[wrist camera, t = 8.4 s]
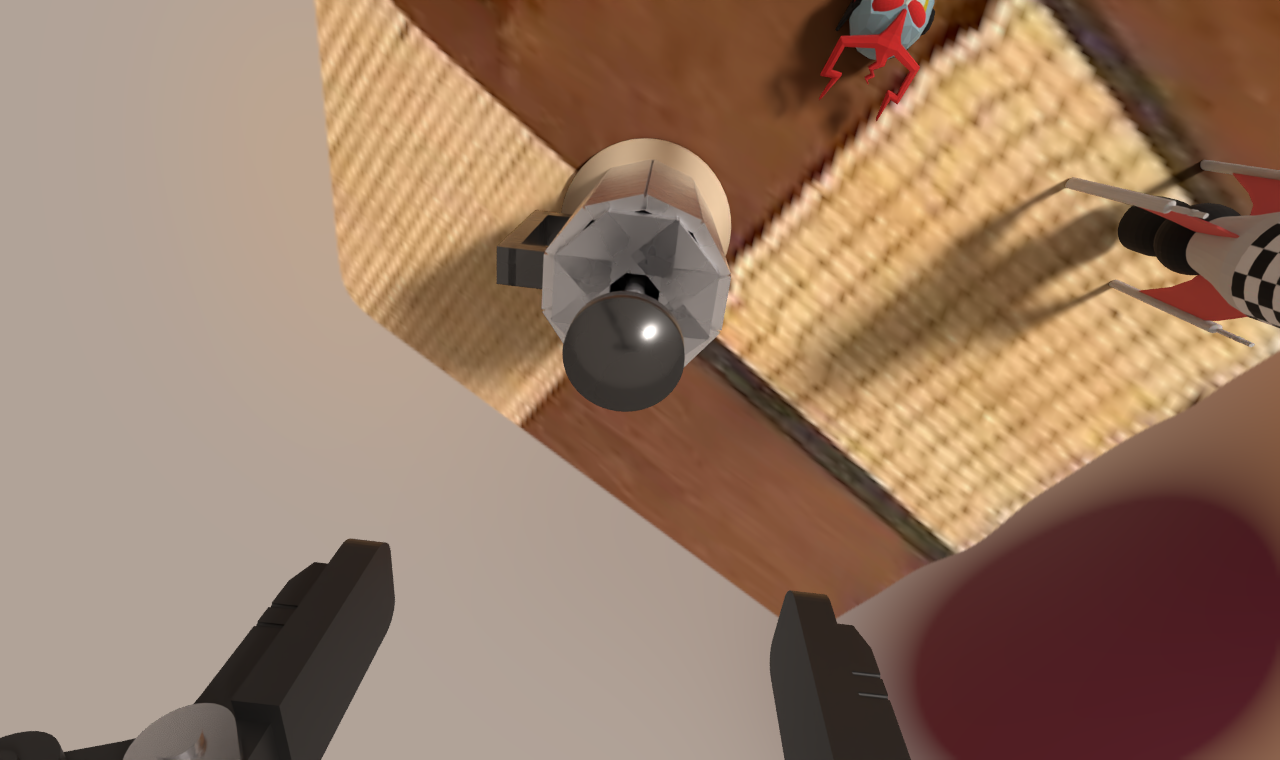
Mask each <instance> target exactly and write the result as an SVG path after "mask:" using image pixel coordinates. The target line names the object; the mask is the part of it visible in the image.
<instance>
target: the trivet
mask: <svg viewBox="0 0 1280 760" xmlns="http://www.w3.org/2000/svg"><path fill="white" fill-rule="evenodd" d="M650 159H652V161H654V159H655V160H657V161H659V162H661V163H663V164H665V165H667V166H669V167H671V168H673V169H675V170H678V171H680V172H682V173H684V174H686V175H688V176H690V177H692V179H694V181H695V183H696V185H697V187H698V189H699V191H700V193H701V195H702V197H703V198H704V200H705V202H706V204H707V206H708V208H709V210H710V212H711V214H712V216H713V219H714V223H715V226H716V229H717V232H718V235H719V238H720V241H721V245H722V248H723V251H724V254H725V256H726V253H727V250H728V246H729V242H730V234H731V216H730V210H729V205H728V201H727V198H726V195H725V193H724V190H723V188H722V186H721V184H720V182H719V180H718V179H717V177H716V176H715V174H714V173H713V171H712V170H711V169H710V168H709V167H708V165H707V164H706V163H705V162H704V161H702V160H701V159H700V158H699V157H698V156H697V155H695V154H694V153H692V152H691V151H689V150H688V149H686V148H684V147H682V146H680V145H678V144H675V143H672V142H669V141H665V140H660V139H653V138H639V139H631V140H626V141H622V142H619V143H617V144H614V145H611V146H609V147H607V148H606V149H604V150H602V151H600V152H599V153H598V154H596V155H595V156H594V157H592V158H591V159H590V160H589V161H588V162H587V163H586V164H585V165H584V166H583V167H582V168H581V169H580V170H579V172H578V173H577V174H576V176H575V177H574V179H573V181H572V182H571V184H570V186H569V188H568V190H567V193H566V195H565V198H564V202H563V206H562V211H561V213H565V214H573V213H574V212H575V210H576V209H577V208H578V206H579V205H580V204H581V202H582V201H583V200H584V198H585V197H586V196H587V195H588V194H589V193H590V191H591V190H592V189H593V188H594V187H595V185H596V184H597V183H598V182H599V181H600V180H601V178H602V177H603V176H604V175H605V174H606V172H607V171H608V170H609V169H611V168H613V167H617V166H622V165H627V164H631V163H636V162H641V161H645V160H650Z"/></svg>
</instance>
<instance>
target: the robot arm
mask: <svg viewBox="0 0 1280 760" xmlns="http://www.w3.org/2000/svg"><path fill="white" fill-rule="evenodd" d="M394 605H395V595H394V584H393V573H392V562H391V551H390V547H389V544H387V543H383V542H375V541H367V540H358V539H347V540H346V541H345V542H344V543H343V544H342V545H341V547H340V548H339V549H338V551H337V552H336V553H335V555H334V556H333V558H332V559H331V560H330V562H329V563H328V564H326V563H317V562H314V563H313V564H311V565H310V566H309V567H307V568H306V569H304V570H303V571H302V572H300V573H299V574H298V575H296V576H295V577H293V578H292V579H291V580H289V581H288V582H287V584H286V585H285V586H284V588H283V589H282V590H281V592H280V593H279V594H278V595H277V597H276V598H275V600H274V601H273V602H272V606H271V607H268V609H267V610H266V611H265V612H264V614H263V615H262V616H261V618H260V619H259V620H258V623H257V626H254V627H253V628H252V630H251V631H250V632H249V633H248V635H247V636H246V637H245V639H244V640H243V641H242V643H241V644H240V645H239V646H238V648H237V649H236V650H235V652H234V653H233V654H232V655H231V657H230V658H229V659H228V661H227V662H226V663H225V665H224V666H223V667H222V668H221V670H220V671H219V672H218V674H217V675H216V676H215V678H214V679H213V680H212V681H211V683H210V684H209V686H208V687H207V688H206V689H205V691H204V692H203V693H202V694H201V696H200V697H199V698H198V699H197V700H196V702H195V703H194V704H193V705H188V706H185V707H182V708H179V709H177V710H175V711H172V712H170V713H168V714H166V715H165V716H163V717H161V718H159V719H158V720H156V721H155V722H154V723H152V724H151V725H150V726H148V727H147V728H146V729H145V730H144V731H142V733H141V734H140V735H139V736H138V737H137V738H135V739H131V740H127V741H122V742H117V743H111V744H106V745H101V746H95V747H90V748H84V749H79V750H73V751H68V752H63V750H62V749H61V746H60V744H59V742H58V741H57V739H56V738H55V737H53V736H52V735H50V734H48V733H45V732H39V731H28V732H21V733H15V734H12V735H8V736H5V737H2V738H0V760H321V758H322V757H323V755H324V753H325V751H326V749H327V747H328V745H329V743H330V741H331V739H332V737H333V735H334V733H335V731H336V729H337V728H338V726H339V724H340V722H341V720H342V718H343V716H344V714H345V712H346V710H347V708H348V706H349V704H350V702H351V701H352V699H353V697H354V695H355V693H356V691H357V689H358V687H359V685H360V683H361V681H362V679H363V677H364V675H365V673H366V671H367V670H368V668H369V666H370V664H371V662H372V660H373V658H374V656H375V654H376V652H377V650H378V648H379V646H380V644H381V643H382V641H383V639H384V637H385V635H386V633H387V631H388V628H389V626H390V623H391V620H392V616H393V611H394ZM770 675H771V682H772V688H773V693H774V699H775V705H776V711H777V717H778V723H779V729H780V735H781V741H782V747H783V752H784V758H785V760H911V759H910V756H909V753H908V750H907V747H906V745H905V742H904V739H903V736H902V733H901V730H900V728H899V725H898V722H897V719H896V716H895V714H894V711H893V708H892V705H891V703H890V701H889V700H888V694H887V691H886V688H885V686H884V683H883V680H882V679H880V672H879V669H878V666H877V663H876V660H875V658H874V655H873V652H872V649H871V648H870V646H869V645H868V644H867V643H866V641H865V640H864V639H863V637H862V636H861V635H860V634H859V632H858V631H857V630H856V629H855V627H854V626H852V625H844V624H837V622H836V618H835V615H834V612H833V609H832V605H831V602H830V600H829V598H828V596H827V595H824V594H815V593H807V592H798V591H788V592H787V593H786V596H785V599H784V602H783V605H782V609H781V612H780V616H779V619H778V623H777V627H776V630H775V633H774V637H773V641H772V644H771V652H770Z"/></svg>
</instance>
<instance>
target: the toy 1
mask: <svg viewBox="0 0 1280 760" xmlns="http://www.w3.org/2000/svg"><path fill="white" fill-rule="evenodd" d="M933 5H934V0H852V2H851V3H850V5H849V7H848V8H847V10H846V12H845V13H844V15H843V17H842V19H841V20H840V22H839V24H838V26H837V28H836V31H838V30H839V29H840V28H841V27H842V25H843V24H844V23H845V22H846V21H847V19H848V18H849V17H850V19H849V23H850V36H840V38H839V40H838V42H837V44H836V46H835V48H834V49H833V51H832V53H831V55H830V57H829V59H828V61H827V62H826V64H825V66H824V68H823V70H822V72H821V74H820V75H821V76H824V77H830V78H831V79H830V81H829V83H828V84H827V86H826V87H825V89H824V91H823V92H822V94H821V96H820V97H819V100H820V99H821V98H822V97H823V96H824V95H825V94H826V92H827V91H828V90H829V89H830V88H831V87H832V86H833V84H834V83H835V82H836V81H837V80H838V79H839V78H840V77H841V75H842V73H841V72H838V71H835V70H832V68H833V67H834V65H835V63H836V61H837V60H838V58H839V56H840V54H841V53H842V51H843V49H844V47H856V49H857V51H858V52H860V53H861V54H863V55H864V56H866V57H867V58H869V59H874V60H876V62H874V63H873V64H871V65H870V66H868V68H869V70H870V73H871V74H869V75H867V76H865V80H866V82H867V84H868V79H871V78H873V77H875V75H874V72H873V70H875V69H878V68H880V67H883V66H885V63H886V61H887V59H890V58H893V57H896V58H897V59H898V60H899V61H900V62H901V63H902V64H903V65H904V66H905V67H906V68H907V69H908V70H909V73H908V74H907V76H906V78H905V80H904V82H903V84H902V85H901V87H900V89H899V91H898V93H897V94H896V93H893V92H891V91H889V90H887V93H886V95H885V98H884V100H883V102H882V105H881V107H880V110H879V112H878V115H877V117H876V122H877V120H878V118H879V117H880V115H881V114H882V112H883V110H884V109H885V107H886V106H887V104H888V102H889V101H890V100H892V101H893V102H894V103H896V104H898V103H899V101H900V100H901V98H902V96H903V95H904V93H905V91H906V90H907V88H908V86H909V85H910V83H911V82H912V80H913V78H914V77H915V75H916V73H917V72H918V70H919V68H920V67H919V65H918V64H917V63H916V62H915V60H914V59H913V58H912V57H911V55H910V54H909V53H908V52H907V49H908V48H909V47H910V46H911V45H912V44H913V43H914V42H915V41H916V40H917V39H919V37H920V36H921V35H924V34H925V33H926V32H927V31H928V30H929V28H930V26H931V24H932V22H933V20H934V15H935V10H934V9H933Z"/></svg>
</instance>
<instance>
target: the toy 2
mask: <svg viewBox="0 0 1280 760" xmlns="http://www.w3.org/2000/svg"><path fill="white" fill-rule="evenodd" d="M1200 167H1201V168H1202V169H1203V170H1207V171H1214V172H1220V173H1226V174H1232V175H1234V176H1235V178H1236V179H1237V180H1238V181H1239V182H1240V183H1241V185H1242V186H1243V187H1244V188H1245V189H1246V191H1247V192H1248V193H1249V195H1250V198H1251V200H1252V202H1253V208H1252V211H1251V214H1250V216H1241V215H1240V214H1239V213H1237V212H1236V211H1235V210H1233V209H1231V208H1229V207H1226V206H1223V205H1220V204H1211V203H1205V204H1196V205H1192V206H1190V205H1188V204H1187V203H1184V202H1181V201H1178V200H1175V199H1171V198H1166V197H1161V196H1152V195H1148V194H1143V193H1139V192H1135V191H1130V190H1126V189H1122V188H1117V187H1113V186H1109V185H1104V184H1100V183H1096V182H1092V181H1087V180H1083V179H1079V178H1074V177H1073V178H1070V179H1069V180H1068V181H1067V182H1066V184H1065V187H1066V188H1069V189H1073V190H1077V191H1080V192H1084V193H1088V194H1092V195H1096V196H1100V197H1103V198H1107V199H1111V200H1115V201H1119V202H1122V203H1126V204H1130V205H1133V206H1132V207H1131V208H1129V209H1128V211H1127V212H1126V213H1125V214H1124V216H1123V217H1122V219H1121V221H1120V223H1119V227H1118V237H1119V240H1120V242H1121V244H1122V245H1123V246H1124V247H1126V248H1127V249H1130V250H1133V251H1135V252H1138V253H1141V254H1144V255H1148V256H1155V257H1157V259H1158V260H1159V261H1160V262H1161V263H1162V264H1163V265H1164V266H1165V267H1167V268H1168V269H1170V270H1172V271H1174V272H1177V273H1180V274H1185V275H1197V276H1196V277H1195V278H1193V279H1192V280H1190V281H1187V282H1184V283H1181V284H1178V285H1175V286H1173V287H1168V288H1159V289H1150V290H1139V289H1137V288H1135V287H1132V286H1130V285H1128V284H1126V283H1123V282H1121V281H1119V280H1113V281H1111V282H1110V283H1109V286H1110V287H1113V288H1115V289H1117V290H1119V291H1121V292H1123V293H1126V294H1128V295H1130V296H1132V297H1134V298H1137V299H1139V300H1141V301H1143V302H1145V303H1147V304H1150V305H1152V306H1154V307H1156V308H1158V309H1160V310H1163V311H1165V312H1167V313H1169V314H1171V315H1173V316H1176V317H1178V318H1180V319H1182V320H1184V321H1187V322H1189V323H1191V324H1193V325H1195V326H1197V327H1200V328H1202V329H1204V330H1206V331H1208V332H1211V333H1216V332H1218V333H1220V334H1222V335H1224V336H1227V337H1229V338H1232V339H1233V340H1235V341H1237V342H1240V343H1243V344H1245V345H1247V346H1249V347H1252V346H1254V345H1255V344H1254V343H1251V342H1249V341H1247V340H1245V339H1244V338H1241V337H1239V336H1236V335H1234V334H1232V333H1230V332H1227V331H1225V330H1223V329H1222V326H1221V325H1219V324H1217V323H1214V322H1212V321H1220V320H1228V319H1235V318H1243V317H1250V318H1253V319H1255V320H1258V321H1261V322H1264V323H1267V324H1270V325H1272V326H1275V327H1278V328H1280V170H1273V169H1266V168H1259V167H1252V166H1244V165H1237V164H1230V163H1223V162H1216V161H1209V160H1203V161H1201V163H1200Z"/></svg>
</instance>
